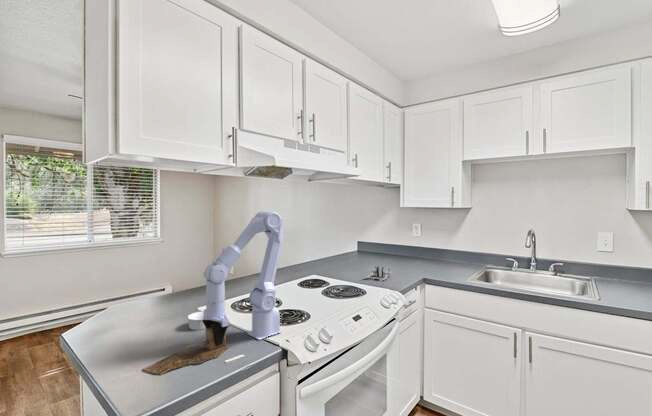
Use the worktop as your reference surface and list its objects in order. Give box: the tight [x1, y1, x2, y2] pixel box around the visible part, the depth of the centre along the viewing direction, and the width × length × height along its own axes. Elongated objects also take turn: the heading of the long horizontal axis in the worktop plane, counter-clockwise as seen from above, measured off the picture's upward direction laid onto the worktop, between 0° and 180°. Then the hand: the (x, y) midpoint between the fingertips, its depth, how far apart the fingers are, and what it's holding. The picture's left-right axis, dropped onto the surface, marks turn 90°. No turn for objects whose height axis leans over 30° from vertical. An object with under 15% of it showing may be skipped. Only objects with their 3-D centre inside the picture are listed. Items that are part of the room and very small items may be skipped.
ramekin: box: [187, 311, 206, 331], centre depth 120 cm, size 9×9×4 cm
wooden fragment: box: [141, 344, 233, 376], centre depth 95 cm, size 26×11×1 cm, turn 126°
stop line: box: [224, 354, 246, 364], centre depth 94 cm, size 6×1×1 cm, turn 134°
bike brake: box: [361, 264, 392, 282], centre depth 197 cm, size 14×7×20 cm
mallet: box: [184, 327, 227, 351], centre depth 100 cm, size 12×4×6 cm, turn 134°
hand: (215, 342), depth 102 cm, fingers closed on mallet, 4 cm apart
